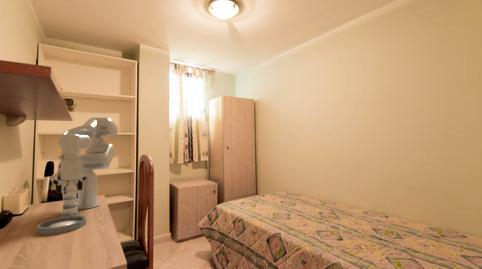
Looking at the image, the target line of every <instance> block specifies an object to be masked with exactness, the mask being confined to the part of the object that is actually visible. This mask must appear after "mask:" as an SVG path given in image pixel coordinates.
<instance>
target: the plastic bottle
mask: <svg viewBox="0 0 482 269" xmlns="http://www.w3.org/2000/svg"><path fill="white" fill-rule="evenodd" d="M75 181H76V180H69V181H64V182H65V183H64V185H63V186H62V193H61V194H62V202H63V203H62V209H61V217H66V216H78V211H79V209H77V205H78V202H76V200H77V198H78V190H77V189H78V187H77V183H75Z"/></svg>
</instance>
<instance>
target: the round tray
mask: <svg viewBox="0 0 482 269" xmlns="http://www.w3.org/2000/svg"><path fill="white" fill-rule="evenodd" d="M86 224H87V216H84V215H78V214H77V215H76V216H66V217H62V216H59V217H56V218H51V219H47V220H45V221H42V222H40V223H38V224H37V226H36V234H38V235H42V236H46V235H47V236H48V235H56V234H63V233H68V232H72V231H75V230H78V229H81V228H83V227H84V226H85V225H86Z"/></svg>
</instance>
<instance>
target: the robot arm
mask: <svg viewBox="0 0 482 269" xmlns="http://www.w3.org/2000/svg"><path fill="white" fill-rule="evenodd" d="M118 133H119V127H118V125H117V124H116V123H115V121H114V120H113V119H111V117H110V118H109V117H91V118H89V119H88V120H87V121H86V122H84V123H83V124H82V125H80V126H79V125H78V126H76V127H74V128H69V129H68V130H66V131H64V132H63V133H62V134H61V135H60V136H59V138H58V146H59V147H61V152H60V153H61V154H60V155H59V156H58V159H59V160H60V161H59V163H58V166H57V171H56V173H55V174H52V175H51V176H49V179H50V181H51V183H52V184H54V186H55V193H56V194H62V187H63V186H62V183H64V182H65V181H69V180H75V181H77V183H76V185H77V187H78V189H77V199H76V203H77V209H78V210H86V209H93V208H97V207H99V206H100V205H101V203H100V202H98V175H97V173H96V172H95V170H106V169H107V168H109V167H110V165H111V163H112V160H113V158H114V155H115V147H114V145H113V144H112V143H106V140H105V139H104V138H103V137H114V136H117V134H118ZM80 149H86V150H85V153H83V154H80V152H81V151H80Z"/></svg>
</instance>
